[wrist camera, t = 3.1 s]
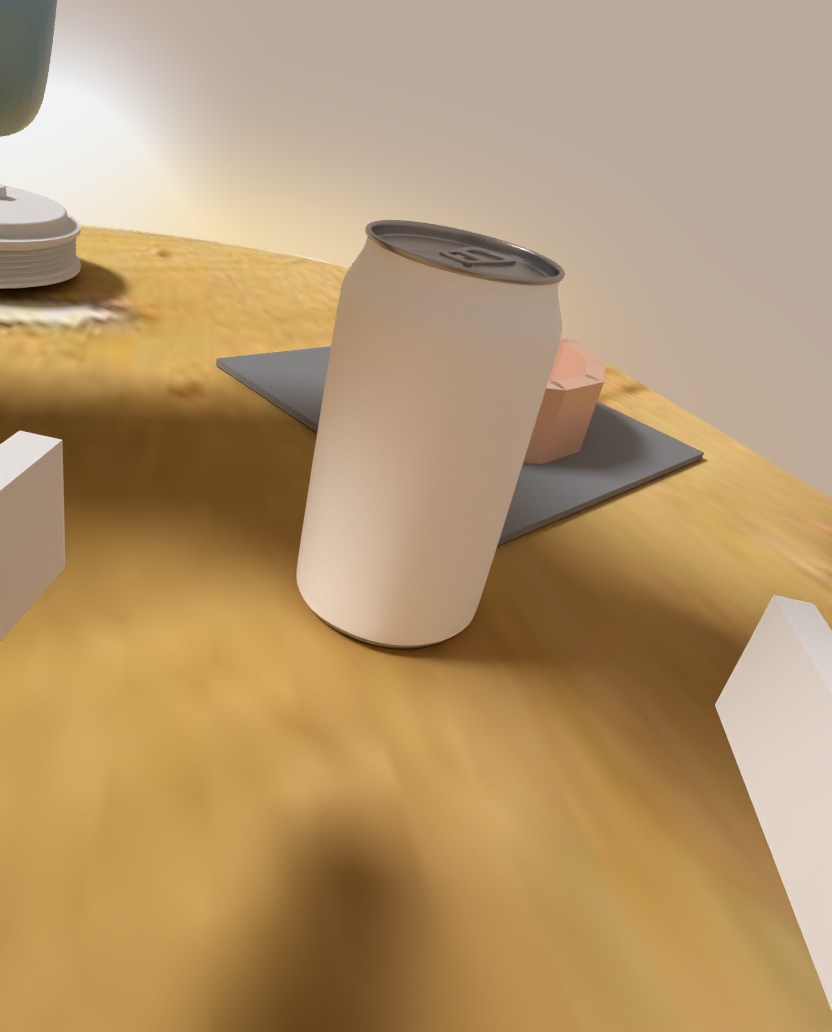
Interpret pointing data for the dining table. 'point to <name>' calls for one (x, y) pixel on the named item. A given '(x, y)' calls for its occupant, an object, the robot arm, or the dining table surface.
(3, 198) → the lid
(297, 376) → the mat
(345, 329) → the can
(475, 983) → the dining table surface
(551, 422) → the bowl
